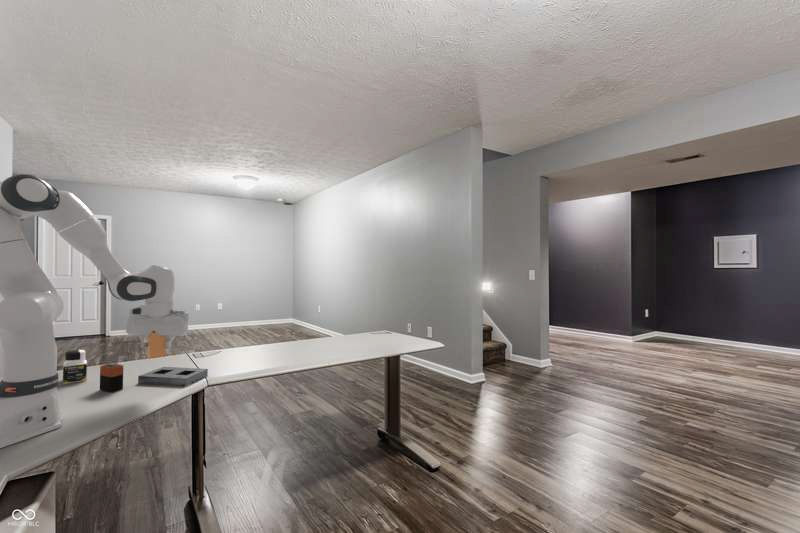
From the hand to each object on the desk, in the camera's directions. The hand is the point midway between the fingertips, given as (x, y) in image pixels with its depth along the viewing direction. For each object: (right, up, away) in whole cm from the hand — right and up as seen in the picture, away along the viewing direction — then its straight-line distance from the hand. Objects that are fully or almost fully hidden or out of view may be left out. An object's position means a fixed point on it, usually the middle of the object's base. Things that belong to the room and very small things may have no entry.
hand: (156, 347), depth 137 cm
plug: (0, -3, 0) cm, 3 cm away
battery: (-18, -17, +2) cm, 25 cm away
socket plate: (-3, -17, +16) cm, 23 cm away
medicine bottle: (-40, -16, +12) cm, 45 cm away
